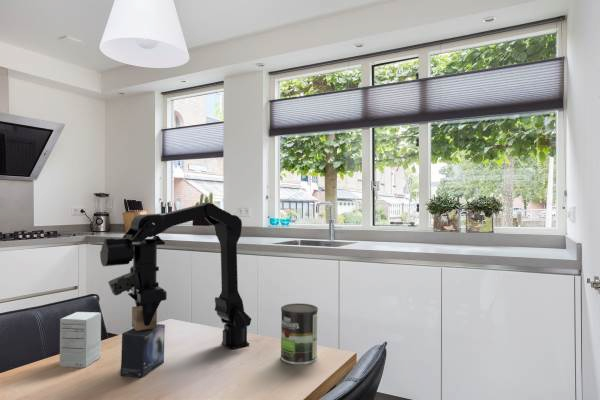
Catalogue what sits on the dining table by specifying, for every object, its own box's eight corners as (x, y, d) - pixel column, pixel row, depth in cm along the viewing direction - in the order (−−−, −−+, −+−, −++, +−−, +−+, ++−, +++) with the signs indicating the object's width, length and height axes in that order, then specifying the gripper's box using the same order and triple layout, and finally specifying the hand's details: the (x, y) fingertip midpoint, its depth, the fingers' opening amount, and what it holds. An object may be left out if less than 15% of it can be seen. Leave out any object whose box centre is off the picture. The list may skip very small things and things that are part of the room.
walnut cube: (151, 323, 109) (151, 304, 109) (156, 327, 105) (156, 308, 105) (131, 326, 106) (132, 306, 106) (136, 331, 102) (136, 311, 102)
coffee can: (300, 368, 106) (300, 314, 107) (273, 358, 113) (273, 307, 114) (325, 357, 114) (325, 307, 114) (298, 349, 121) (298, 301, 121)
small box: (143, 378, 100) (143, 335, 100) (119, 376, 101) (120, 333, 101) (165, 362, 110) (166, 323, 110) (143, 360, 111) (144, 322, 112)
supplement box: (76, 356, 114) (76, 311, 114) (101, 357, 113) (102, 312, 113) (58, 367, 106) (59, 318, 107) (85, 368, 106) (86, 319, 106)
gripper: (105, 261, 109) (104, 319, 109) (118, 270, 94) (117, 338, 93) (148, 258, 115) (147, 313, 115) (167, 266, 100) (166, 330, 100)
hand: (144, 322), depth 106 cm, fingers closed on walnut cube, 5 cm apart
